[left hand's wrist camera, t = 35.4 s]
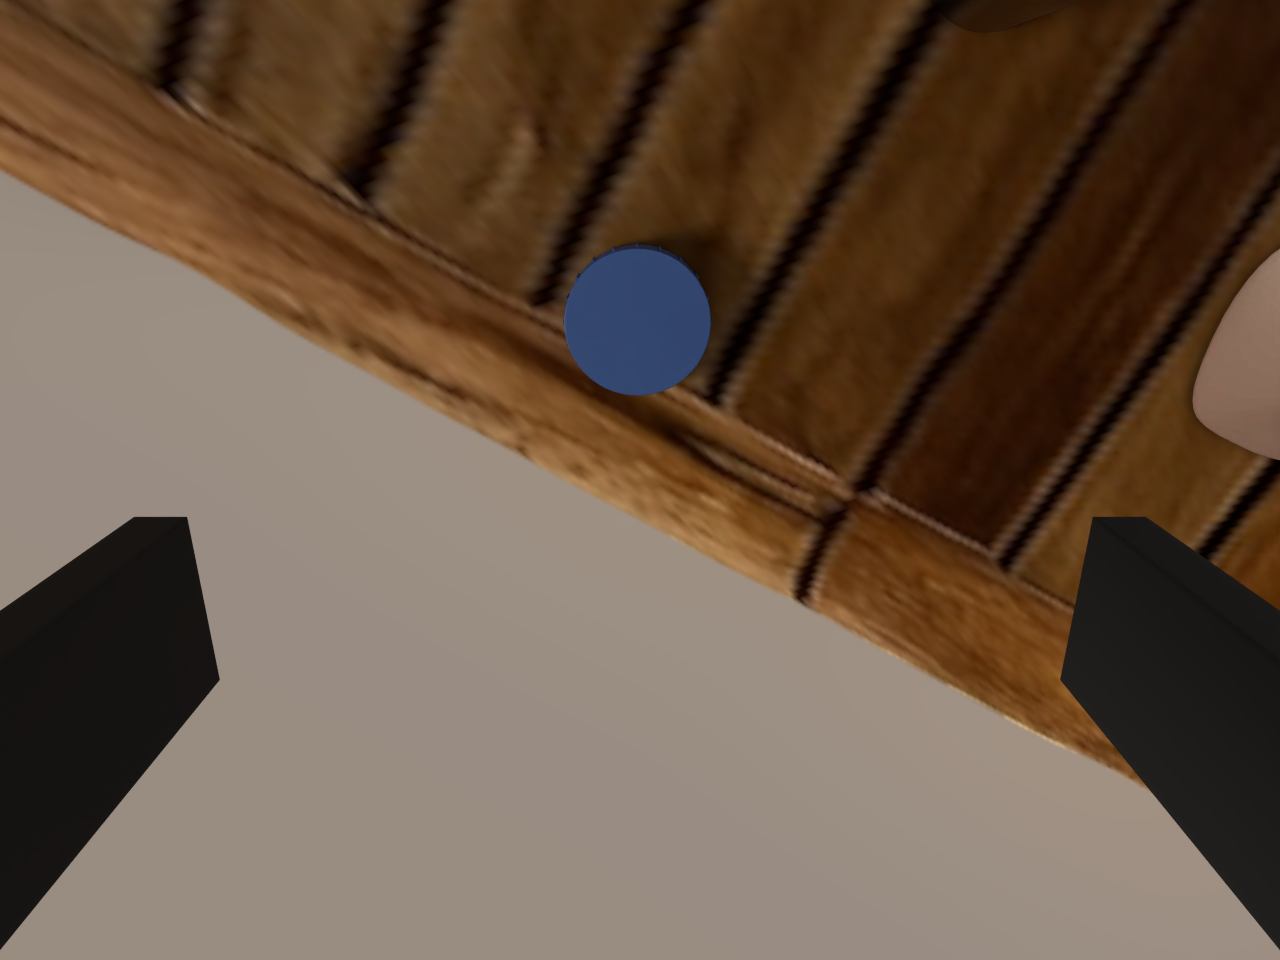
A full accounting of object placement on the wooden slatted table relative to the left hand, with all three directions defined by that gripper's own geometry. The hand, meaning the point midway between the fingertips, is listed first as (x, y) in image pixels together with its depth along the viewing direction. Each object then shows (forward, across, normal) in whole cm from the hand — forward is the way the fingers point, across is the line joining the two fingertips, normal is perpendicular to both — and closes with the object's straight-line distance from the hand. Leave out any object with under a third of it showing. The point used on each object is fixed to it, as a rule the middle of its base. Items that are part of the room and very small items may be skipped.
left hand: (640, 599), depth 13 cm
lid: (+25, 0, 0) cm, 25 cm away
